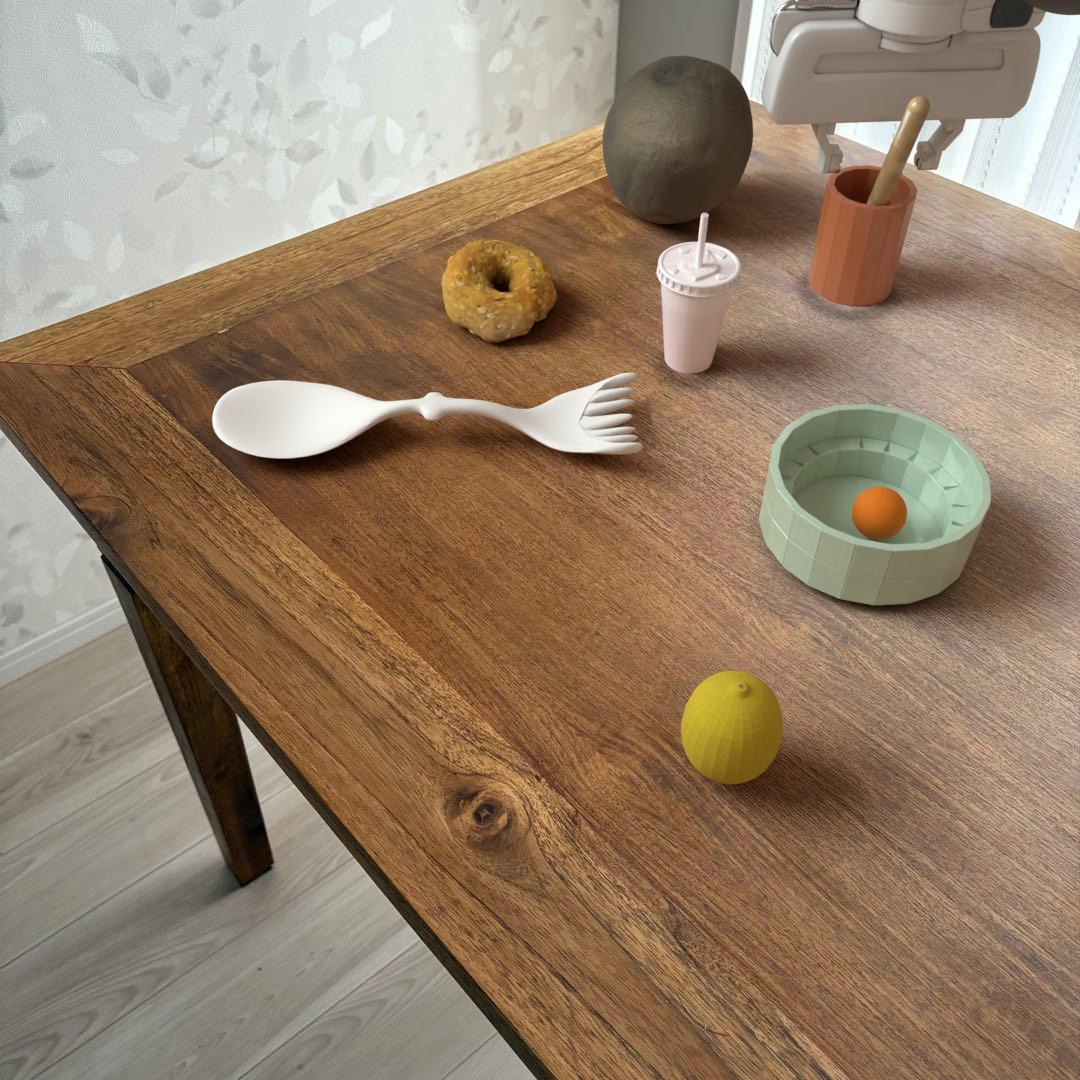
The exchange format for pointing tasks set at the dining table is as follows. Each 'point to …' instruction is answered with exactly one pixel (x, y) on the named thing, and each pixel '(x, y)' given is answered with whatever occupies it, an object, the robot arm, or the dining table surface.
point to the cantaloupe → (677, 139)
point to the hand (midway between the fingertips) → (876, 168)
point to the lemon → (732, 727)
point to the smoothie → (695, 299)
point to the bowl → (848, 470)
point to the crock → (859, 238)
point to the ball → (879, 513)
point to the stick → (899, 151)
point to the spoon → (341, 415)
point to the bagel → (497, 289)
